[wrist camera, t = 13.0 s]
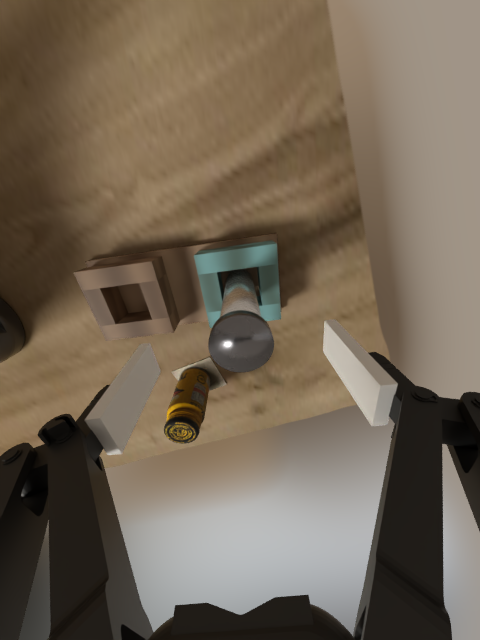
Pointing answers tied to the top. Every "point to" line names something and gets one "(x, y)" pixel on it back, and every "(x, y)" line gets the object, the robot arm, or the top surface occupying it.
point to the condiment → (191, 400)
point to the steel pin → (240, 327)
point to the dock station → (177, 285)
